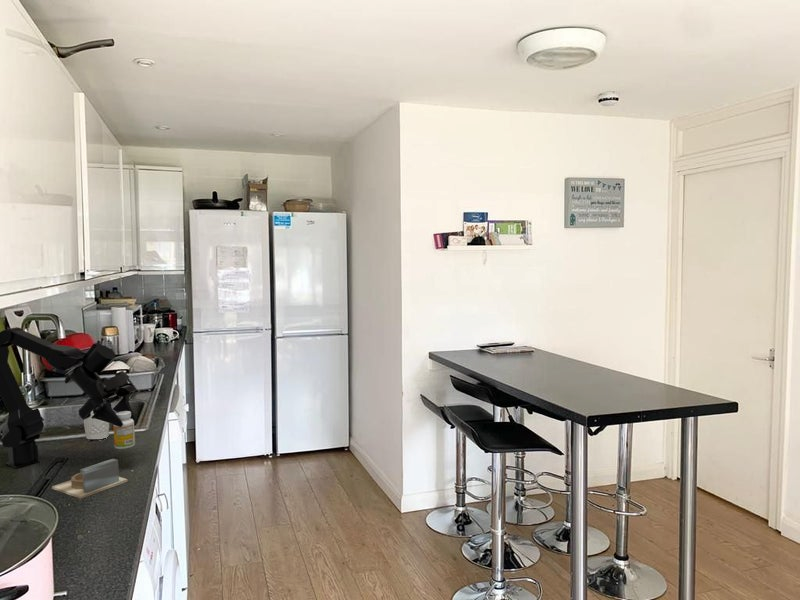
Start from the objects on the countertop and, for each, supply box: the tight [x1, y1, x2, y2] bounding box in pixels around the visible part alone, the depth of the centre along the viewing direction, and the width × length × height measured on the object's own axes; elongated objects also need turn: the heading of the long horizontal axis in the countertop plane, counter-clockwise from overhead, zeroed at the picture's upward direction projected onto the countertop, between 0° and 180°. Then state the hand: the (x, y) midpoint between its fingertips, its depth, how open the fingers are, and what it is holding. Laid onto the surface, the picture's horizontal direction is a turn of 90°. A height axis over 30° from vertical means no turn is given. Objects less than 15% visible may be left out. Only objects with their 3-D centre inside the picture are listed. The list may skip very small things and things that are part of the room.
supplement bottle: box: [112, 411, 136, 450], centre depth 170 cm, size 5×5×10 cm
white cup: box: [83, 411, 110, 439], centre depth 198 cm, size 8×8×10 cm
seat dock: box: [51, 458, 128, 500], centre depth 158 cm, size 13×13×6 cm
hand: (128, 422), depth 169 cm, fingers closed on supplement bottle, 5 cm apart
